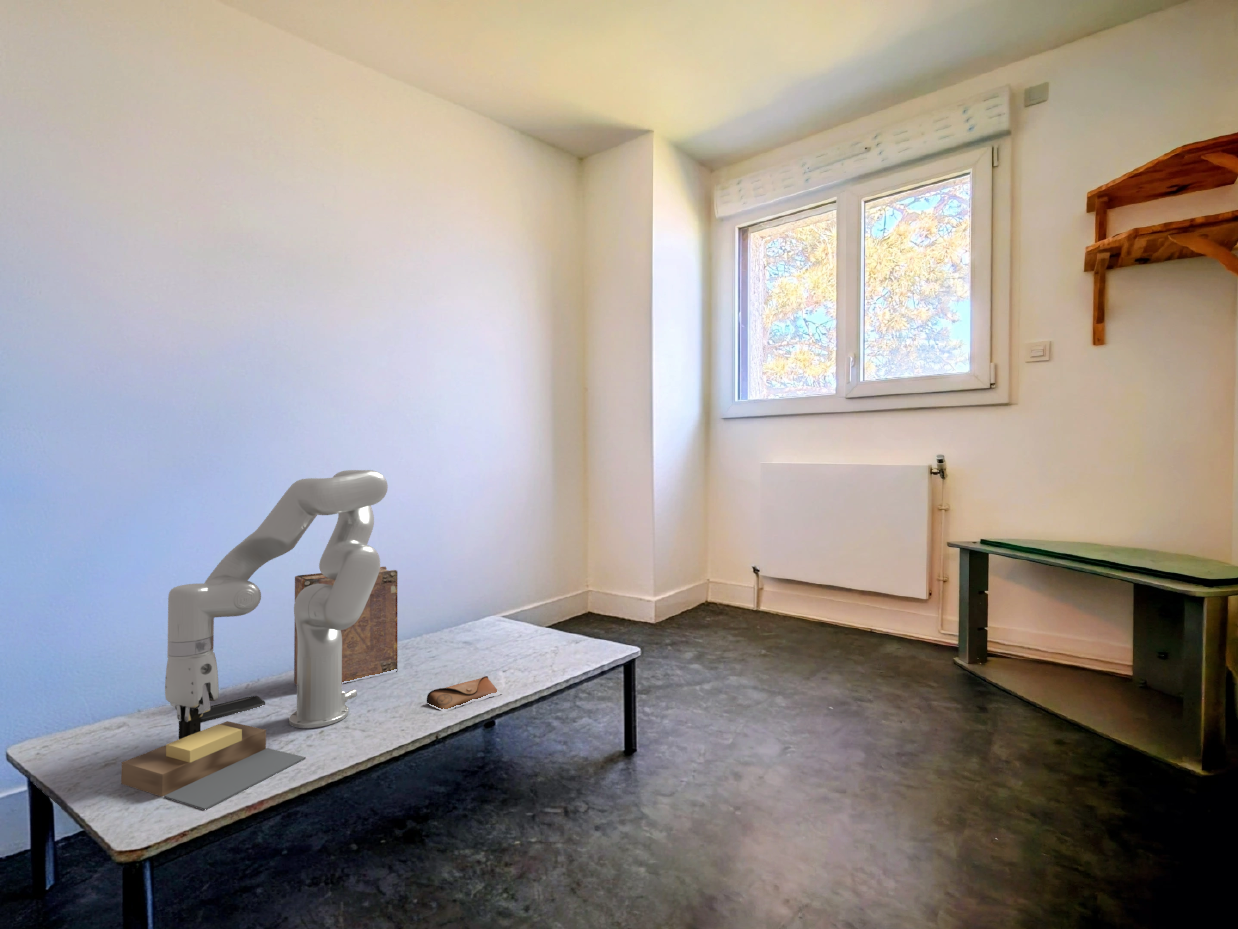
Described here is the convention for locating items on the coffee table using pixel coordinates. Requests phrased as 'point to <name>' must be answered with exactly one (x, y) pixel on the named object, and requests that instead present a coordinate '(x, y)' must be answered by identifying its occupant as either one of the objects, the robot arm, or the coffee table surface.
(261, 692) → the coffee table surface
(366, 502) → the robot arm
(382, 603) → the book
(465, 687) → the sunglasses case
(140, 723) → the coffee table surface
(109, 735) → the coffee table surface
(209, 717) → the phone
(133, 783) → the brown wooden block
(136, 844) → the coffee table surface
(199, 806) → the mat
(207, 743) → the tile
